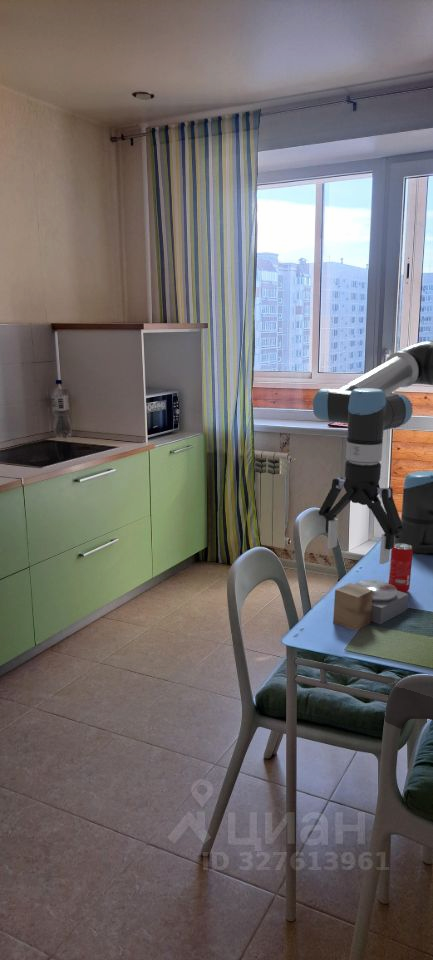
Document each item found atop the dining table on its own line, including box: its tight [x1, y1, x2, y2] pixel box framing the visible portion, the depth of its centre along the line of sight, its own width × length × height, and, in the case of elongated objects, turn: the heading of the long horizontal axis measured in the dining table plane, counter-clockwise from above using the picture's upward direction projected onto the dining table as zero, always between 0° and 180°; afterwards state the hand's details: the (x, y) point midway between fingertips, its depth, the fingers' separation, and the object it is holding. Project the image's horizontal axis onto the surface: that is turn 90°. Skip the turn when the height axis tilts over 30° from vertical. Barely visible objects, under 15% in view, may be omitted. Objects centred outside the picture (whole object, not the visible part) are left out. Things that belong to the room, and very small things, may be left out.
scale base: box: [370, 590, 409, 625], centre depth 166 cm, size 12×11×4 cm
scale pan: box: [354, 579, 397, 602], centre depth 165 cm, size 10×10×2 cm
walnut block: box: [332, 582, 373, 632], centre depth 158 cm, size 6×6×8 cm
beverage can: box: [388, 543, 414, 594], centre depth 177 cm, size 5×5×12 cm
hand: (357, 554), depth 156 cm, fingers open, 13 cm apart
